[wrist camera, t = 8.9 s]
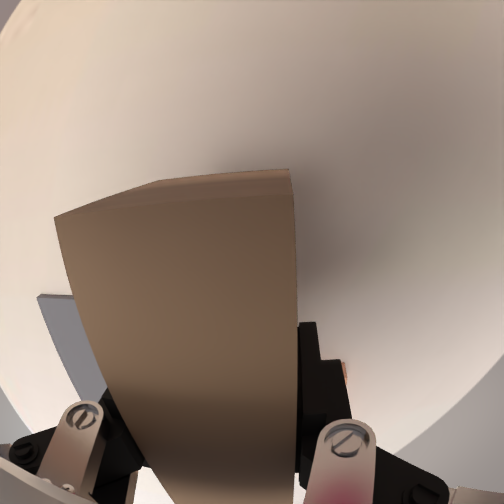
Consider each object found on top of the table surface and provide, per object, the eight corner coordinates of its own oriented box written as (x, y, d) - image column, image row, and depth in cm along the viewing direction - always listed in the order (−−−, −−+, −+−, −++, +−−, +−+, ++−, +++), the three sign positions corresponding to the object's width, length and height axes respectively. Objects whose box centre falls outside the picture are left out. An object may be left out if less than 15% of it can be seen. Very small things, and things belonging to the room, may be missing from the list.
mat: (143, 297, 17) (140, 301, 17) (193, 450, 22) (191, 455, 21) (40, 294, 18) (36, 297, 18) (105, 433, 23) (103, 437, 22)
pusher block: (158, 180, 9) (53, 217, 5) (288, 168, 9) (293, 194, 4) (211, 438, 13) (189, 522, 8) (293, 440, 13) (290, 531, 8)
